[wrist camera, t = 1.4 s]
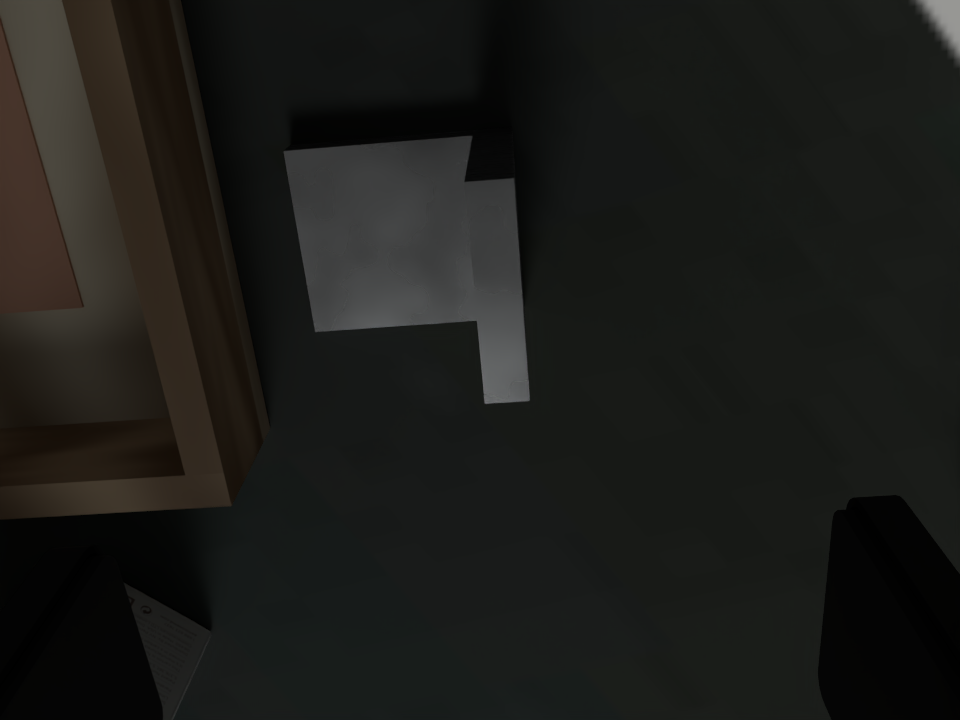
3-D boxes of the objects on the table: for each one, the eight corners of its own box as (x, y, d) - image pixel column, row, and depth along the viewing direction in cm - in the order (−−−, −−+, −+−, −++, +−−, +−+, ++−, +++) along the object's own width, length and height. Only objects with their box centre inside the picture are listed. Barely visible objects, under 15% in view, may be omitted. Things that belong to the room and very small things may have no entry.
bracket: (511, 126, 28) (513, 178, 21) (524, 306, 30) (529, 400, 24) (290, 144, 28) (227, 200, 22) (320, 320, 30) (272, 417, 24)
